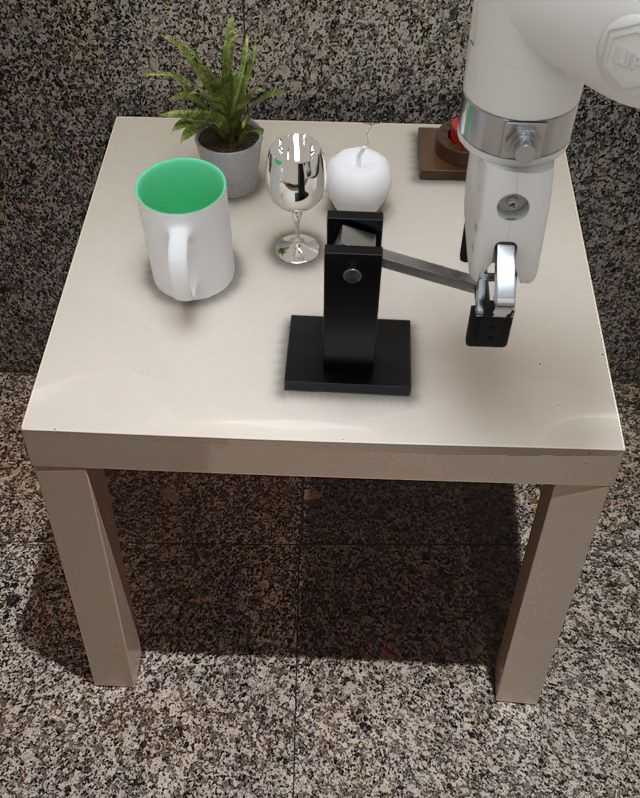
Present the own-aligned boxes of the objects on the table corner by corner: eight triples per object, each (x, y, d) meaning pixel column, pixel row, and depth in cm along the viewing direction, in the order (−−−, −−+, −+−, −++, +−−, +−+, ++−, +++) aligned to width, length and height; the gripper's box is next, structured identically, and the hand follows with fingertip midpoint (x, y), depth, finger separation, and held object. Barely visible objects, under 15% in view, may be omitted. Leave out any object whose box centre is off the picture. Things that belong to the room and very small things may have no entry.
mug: (236, 328, 78) (226, 243, 70) (149, 333, 78) (129, 247, 69) (234, 242, 85) (225, 155, 77) (155, 245, 85) (137, 159, 77)
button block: (504, 138, 96) (508, 115, 94) (511, 181, 92) (516, 158, 89) (417, 135, 97) (419, 113, 94) (419, 179, 92) (422, 156, 89)
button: (481, 128, 93) (483, 115, 92) (484, 148, 91) (486, 134, 90) (449, 128, 93) (450, 114, 92) (450, 147, 91) (452, 133, 90)
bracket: (409, 328, 78) (425, 201, 66) (409, 396, 73) (427, 271, 61) (291, 323, 78) (287, 195, 67) (284, 390, 73) (278, 264, 62)
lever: (479, 276, 70) (492, 256, 69) (483, 321, 67) (497, 301, 65) (333, 233, 68) (343, 211, 66) (330, 278, 64) (340, 256, 63)
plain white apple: (347, 238, 86) (349, 174, 79) (311, 200, 89) (311, 136, 83) (403, 215, 88) (410, 151, 82) (366, 179, 92) (369, 115, 85)
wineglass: (335, 241, 85) (338, 140, 76) (309, 275, 82) (307, 175, 73) (286, 223, 87) (283, 122, 78) (258, 257, 84) (251, 155, 74)
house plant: (170, 138, 96) (147, -3, 83) (290, 136, 97) (286, -5, 84) (159, 219, 87) (132, 75, 75) (291, 217, 88) (287, 73, 75)
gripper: (593, 198, 50) (538, 383, 63) (558, 48, 61) (518, 232, 74) (466, 195, 50) (438, 379, 63) (454, 46, 61) (432, 230, 74)
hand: (481, 300), depth 69 cm, fingers open, 9 cm apart
